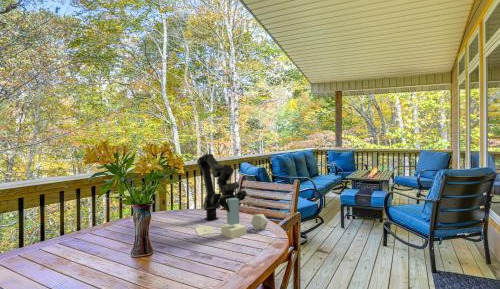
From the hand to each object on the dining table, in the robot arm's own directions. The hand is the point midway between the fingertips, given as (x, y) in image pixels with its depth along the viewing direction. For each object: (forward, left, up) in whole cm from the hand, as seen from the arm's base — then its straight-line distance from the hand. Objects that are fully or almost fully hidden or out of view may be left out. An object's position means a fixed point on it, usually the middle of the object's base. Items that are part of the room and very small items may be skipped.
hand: (234, 211), depth 148 cm
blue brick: (-1, 0, -7) cm, 7 cm away
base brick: (-1, 0, -12) cm, 12 cm away
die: (+2, +15, -12) cm, 20 cm away
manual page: (-16, -8, -12) cm, 22 cm away
